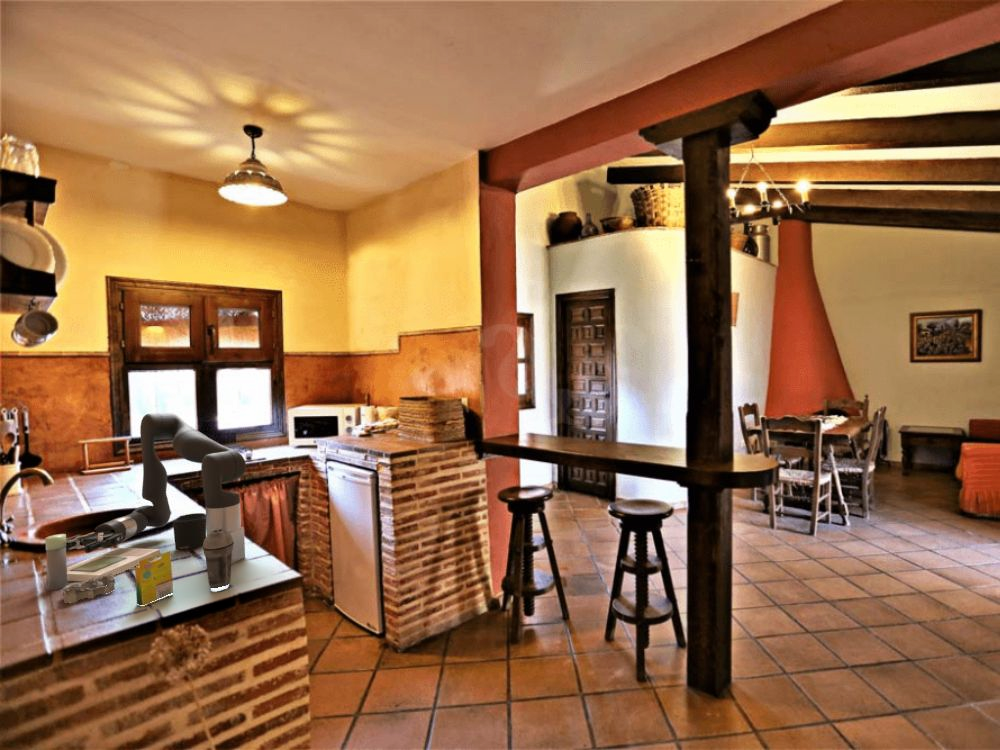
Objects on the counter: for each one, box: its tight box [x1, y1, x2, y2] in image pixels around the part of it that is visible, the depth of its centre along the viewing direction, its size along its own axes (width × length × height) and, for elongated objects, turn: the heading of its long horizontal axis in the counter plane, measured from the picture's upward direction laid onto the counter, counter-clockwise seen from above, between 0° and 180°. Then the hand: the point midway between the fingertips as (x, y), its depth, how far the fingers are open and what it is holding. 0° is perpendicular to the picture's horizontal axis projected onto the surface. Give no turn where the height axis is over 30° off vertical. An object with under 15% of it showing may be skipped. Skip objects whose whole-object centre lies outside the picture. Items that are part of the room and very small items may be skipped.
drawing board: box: [67, 547, 161, 582], centre depth 150 cm, size 16×20×2 cm
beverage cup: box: [202, 512, 234, 589], centre depth 132 cm, size 7×7×20 cm
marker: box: [44, 533, 69, 591], centre depth 136 cm, size 4×4×14 cm
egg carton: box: [62, 573, 116, 604], centre depth 131 cm, size 11×8×4 cm
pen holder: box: [172, 512, 207, 552], centre depth 166 cm, size 9×9×10 cm
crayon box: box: [134, 551, 174, 605], centre depth 126 cm, size 7×3×12 cm, turn 150°
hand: (71, 550), depth 141 cm, fingers open, 8 cm apart
